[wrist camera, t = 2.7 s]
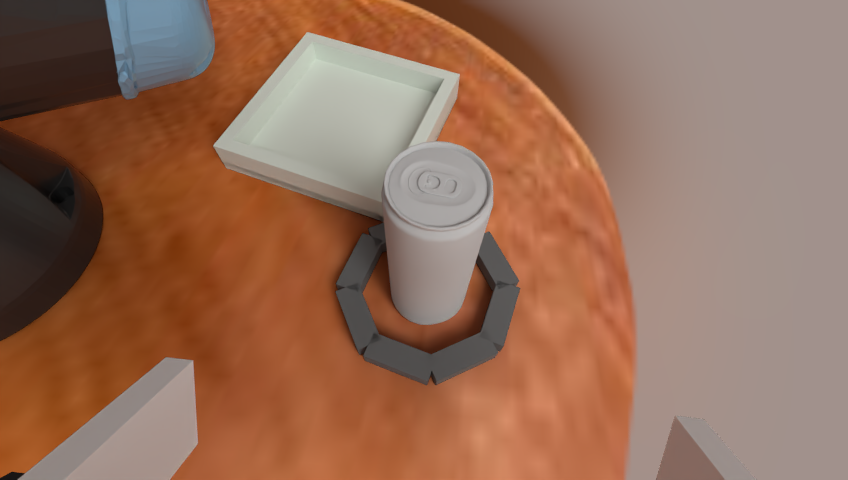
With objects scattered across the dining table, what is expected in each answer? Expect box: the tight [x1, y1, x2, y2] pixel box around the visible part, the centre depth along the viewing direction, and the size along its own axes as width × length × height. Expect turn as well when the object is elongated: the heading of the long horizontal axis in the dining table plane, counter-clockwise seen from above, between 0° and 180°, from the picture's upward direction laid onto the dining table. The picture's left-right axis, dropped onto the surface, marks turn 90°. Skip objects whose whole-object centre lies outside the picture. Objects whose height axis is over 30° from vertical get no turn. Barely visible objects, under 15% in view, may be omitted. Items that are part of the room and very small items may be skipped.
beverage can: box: [381, 141, 493, 325], centre depth 23 cm, size 5×5×12 cm
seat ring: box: [335, 223, 520, 385], centre depth 27 cm, size 11×11×1 cm
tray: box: [213, 32, 460, 222], centre depth 34 cm, size 14×14×2 cm
